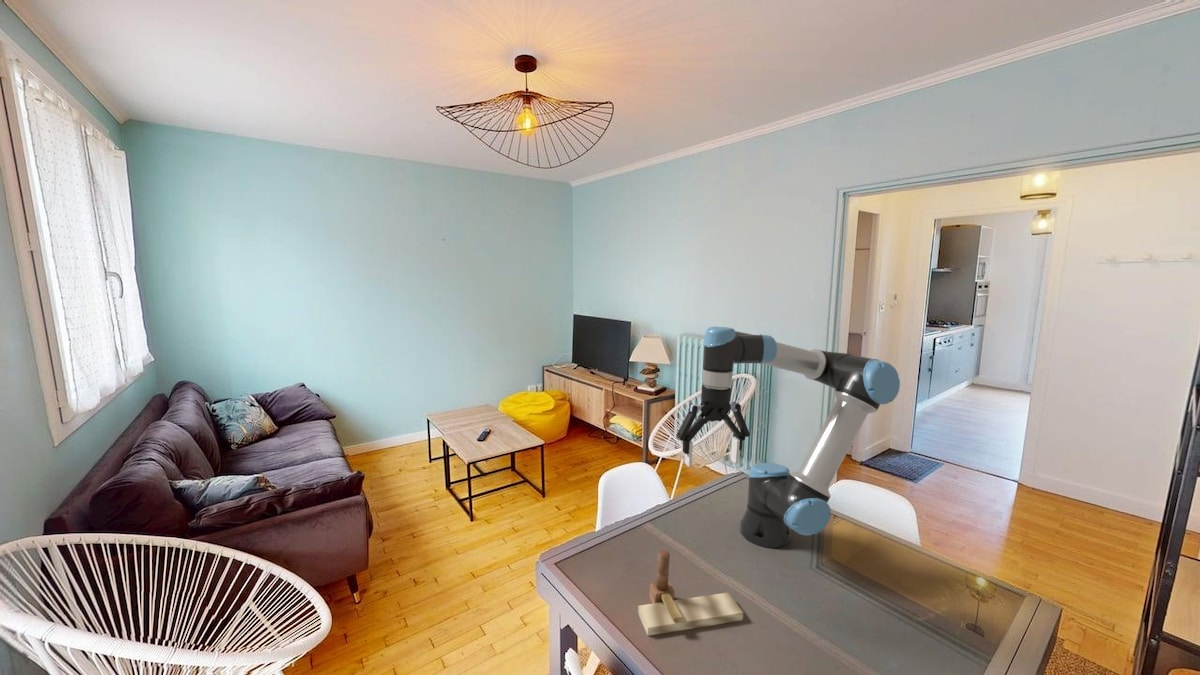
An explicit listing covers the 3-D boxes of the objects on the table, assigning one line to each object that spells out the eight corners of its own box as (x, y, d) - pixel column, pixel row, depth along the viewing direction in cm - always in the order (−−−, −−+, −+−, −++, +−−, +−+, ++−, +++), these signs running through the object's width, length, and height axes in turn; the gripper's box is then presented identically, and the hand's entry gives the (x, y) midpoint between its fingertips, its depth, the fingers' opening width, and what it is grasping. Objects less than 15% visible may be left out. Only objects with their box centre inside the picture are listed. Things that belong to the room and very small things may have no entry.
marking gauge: (667, 595, 113) (670, 547, 112) (687, 631, 102) (690, 579, 100) (649, 597, 112) (651, 550, 110) (667, 634, 101) (669, 581, 99)
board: (727, 599, 112) (728, 592, 112) (742, 620, 106) (743, 612, 105) (637, 613, 107) (638, 605, 106) (647, 635, 100) (647, 627, 100)
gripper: (751, 381, 122) (745, 454, 125) (666, 383, 117) (662, 460, 119) (767, 388, 115) (760, 465, 118) (678, 390, 109) (673, 472, 112)
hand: (711, 463), depth 119 cm, fingers open, 13 cm apart
